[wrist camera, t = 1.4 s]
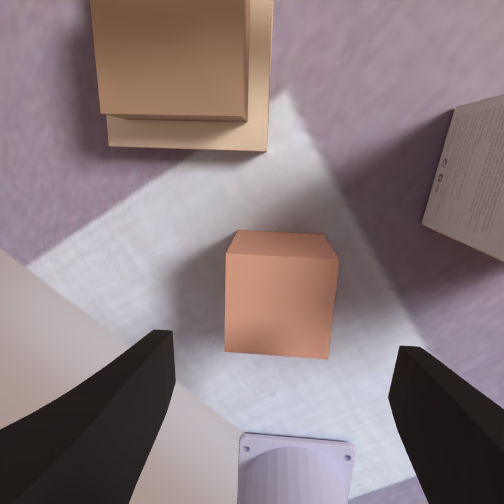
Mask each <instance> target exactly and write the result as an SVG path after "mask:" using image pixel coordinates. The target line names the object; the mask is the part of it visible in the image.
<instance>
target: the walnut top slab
mask: <svg viewBox="0 0 504 504" xmlns="http://www.w3.org/2000/svg"><path fill="white" fill-rule="evenodd" d="M90 9H91V19H92V29H93V40H94V50H95V60H96V70H97V81H98V91H99V101H100V112H101V114H105V115H109V116H113V117H117V118H121V119H126V120H156V121H209V122H248V83H249V35H250V0H90Z"/></svg>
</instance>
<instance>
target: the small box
mask: <svg viewBox="0 0 504 504" xmlns="http://www.w3.org/2000/svg"><path fill="white" fill-rule="evenodd" d="M422 225H423V226H425V227H428V228H430V229H432V230H434V231H436V232H438V233H440V234H443V235H445V236H447V237H449V238H452V239H454V240H457V241H459V242H461V243H463V244H465V245H467V246H470V247H472V248H474V249H476V250H478V251H480V252H483V253H485V254H487V255H489V256H491V257H493V258H495V259H497V260H500V261H502V262H504V94H503V95H500V96H496V97H491V98H487V99H483V100H480V101H476V102H472V103H469V104H465V105H460V106H457V107H456V108H455V110H454V113H453V117H452V120H451V123H450V127H449V130H448V134H447V137H446V140H445V144H444V147H443V151H442V154H441V158H440V161H439V165H438V168H437V171H436V175H435V178H434V182H433V185H432V189H431V192H430V196H429V200H428V203H427V207H426V210H425V213H424V217H423V220H422Z"/></svg>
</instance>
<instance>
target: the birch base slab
mask: <svg viewBox="0 0 504 504" xmlns="http://www.w3.org/2000/svg"><path fill="white" fill-rule="evenodd" d="M272 24H273V0H250V35H249V83H248V122H209V121H156V120H126V119H121V118H117V117H113V116H109V115H106V118H107V130H108V141H109V146H116V147H139V148H170V149H201V150H232V151H263V152H267V141H268V117H269V94H270V70H271V47H272Z"/></svg>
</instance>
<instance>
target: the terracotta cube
mask: <svg viewBox="0 0 504 504" xmlns="http://www.w3.org/2000/svg"><path fill="white" fill-rule="evenodd" d="M338 269H339V258H338V256H337V255H336V253H335V251H334V250H333V248H332V247H331V245H330V243H329V242H328V240H327V239H326V237H325V235H324V234H307V233H287V232H267V231H247V230H238V231H237V233H236V235H235V237H234V239H233V241H232V243H231V245H230V246H229V248H228V250H227V252H226V277H225V348H224V352H236V353H250V354H263V355H277V356H291V357H305V358H319V359H328V355H329V347H330V338H331V329H332V321H333V312H334V304H335V295H336V286H337V278H338Z"/></svg>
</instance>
